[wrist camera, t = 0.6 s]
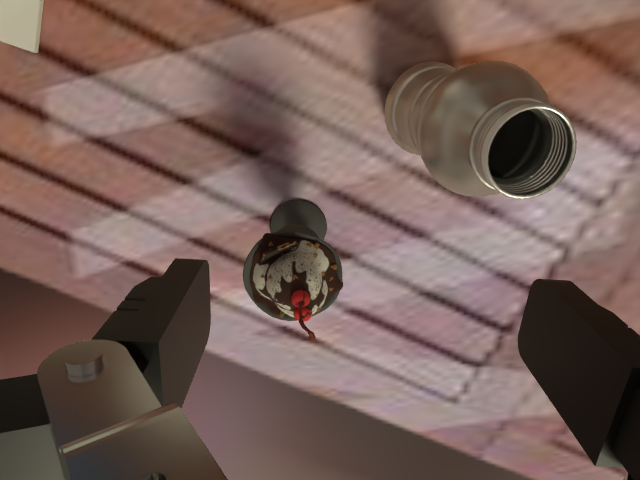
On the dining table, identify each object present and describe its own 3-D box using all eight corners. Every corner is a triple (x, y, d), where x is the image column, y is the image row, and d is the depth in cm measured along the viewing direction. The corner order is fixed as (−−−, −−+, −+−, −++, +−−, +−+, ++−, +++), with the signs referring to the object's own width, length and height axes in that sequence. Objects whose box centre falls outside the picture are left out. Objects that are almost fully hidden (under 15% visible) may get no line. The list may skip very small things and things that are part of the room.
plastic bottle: (372, 142, 37) (428, 224, 19) (389, 54, 35) (472, 47, 16) (449, 154, 38) (578, 245, 19) (471, 67, 35) (644, 75, 17)
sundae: (325, 269, 41) (329, 375, 28) (252, 250, 41) (219, 349, 27) (346, 202, 39) (363, 280, 25) (270, 180, 38) (244, 249, 24)
